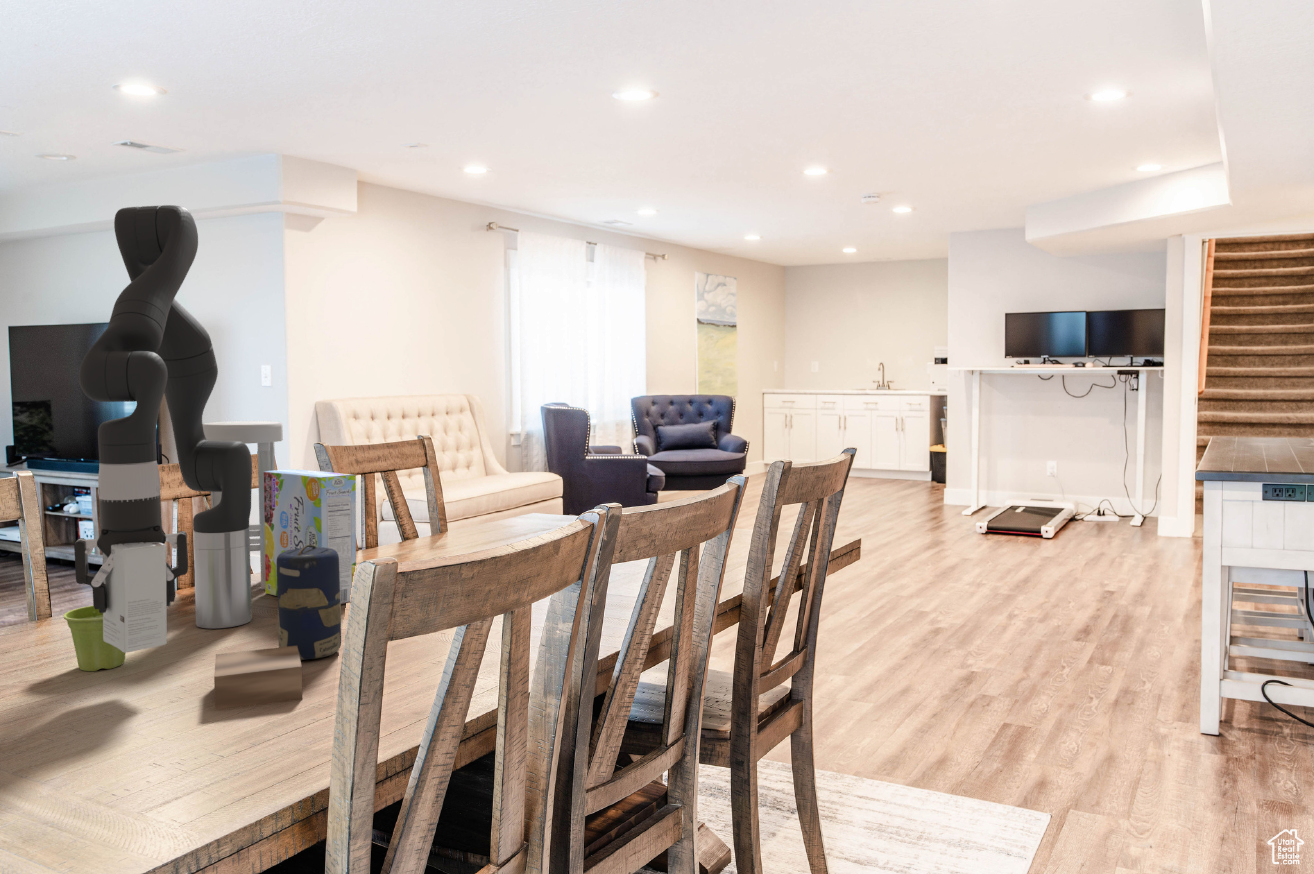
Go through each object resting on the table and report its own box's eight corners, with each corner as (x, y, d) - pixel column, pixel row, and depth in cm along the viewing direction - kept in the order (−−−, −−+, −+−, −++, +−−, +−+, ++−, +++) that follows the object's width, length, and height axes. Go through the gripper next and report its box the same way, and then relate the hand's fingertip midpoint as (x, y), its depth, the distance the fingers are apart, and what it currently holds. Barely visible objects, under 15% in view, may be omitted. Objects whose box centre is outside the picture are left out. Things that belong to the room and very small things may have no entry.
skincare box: (102, 642, 132) (97, 539, 131) (147, 632, 137) (142, 533, 136) (125, 654, 127) (120, 547, 126) (171, 644, 132) (167, 541, 130)
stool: (281, 590, 195) (277, 424, 193) (200, 595, 190) (195, 424, 188) (288, 575, 210) (284, 420, 207) (213, 579, 205) (208, 421, 203)
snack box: (361, 601, 185) (358, 473, 184) (321, 610, 178) (319, 477, 177) (301, 586, 199) (298, 466, 197) (262, 593, 192) (259, 470, 190)
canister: (354, 649, 153) (352, 541, 152) (315, 666, 144) (312, 551, 143) (306, 644, 156) (303, 538, 155) (265, 660, 147) (262, 547, 146)
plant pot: (104, 677, 138) (102, 620, 138) (50, 673, 140) (48, 616, 140) (150, 658, 148) (148, 605, 147) (99, 654, 150) (97, 601, 149)
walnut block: (216, 688, 135) (215, 654, 135) (297, 678, 139) (297, 645, 139) (215, 713, 125) (214, 676, 125) (302, 701, 129) (301, 666, 129)
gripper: (188, 487, 136) (192, 596, 138) (74, 493, 130) (80, 607, 132) (186, 494, 130) (190, 609, 131) (65, 500, 124) (72, 621, 125)
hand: (135, 608), depth 131 cm, fingers closed on skincare box, 7 cm apart
